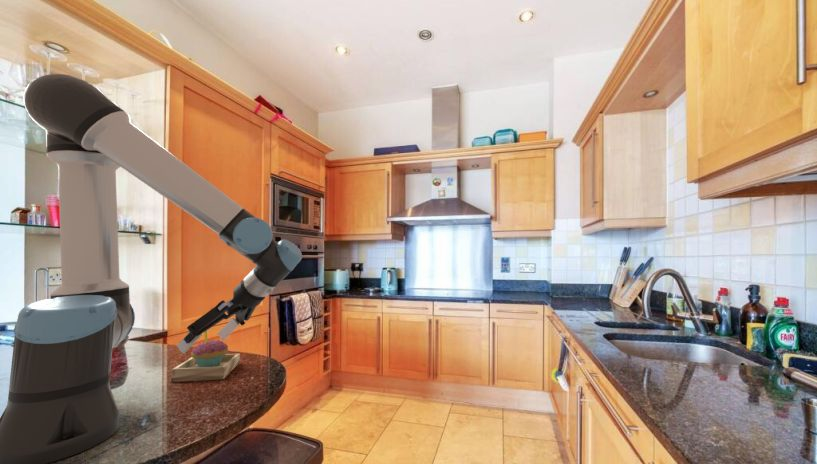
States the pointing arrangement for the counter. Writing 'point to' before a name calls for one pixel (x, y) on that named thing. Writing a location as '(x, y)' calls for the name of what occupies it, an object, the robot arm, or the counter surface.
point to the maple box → (204, 369)
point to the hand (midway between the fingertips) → (202, 342)
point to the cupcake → (209, 352)
